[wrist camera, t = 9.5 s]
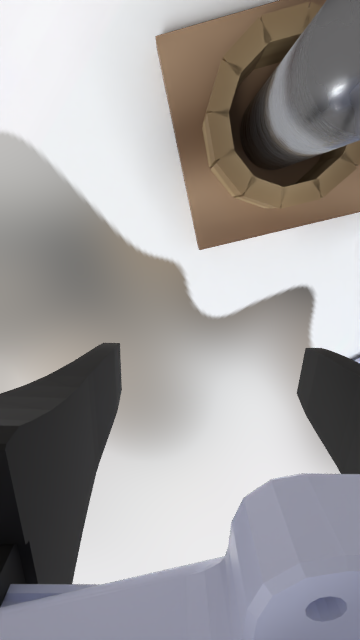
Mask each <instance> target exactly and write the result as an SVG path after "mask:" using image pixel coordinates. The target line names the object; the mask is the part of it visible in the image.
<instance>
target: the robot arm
mask: <svg viewBox="0 0 360 640" xmlns="http://www.w3.org/2000/svg"><path fill="white" fill-rule="evenodd" d="M121 390H122V388H121V363H120V343H103V344H101V345H99V346H97V347H95V348H94V349H92V350H91V351H89V352H88V353H86V354H84V355H83V356H81V357H79V358H78V359H76V360H75V361H73V362H71V363H70V364H68V365H66V366H64V367H62V368H60V369H59V370H57V371H55V372H53V373H51V374H49V375H47V376H45V377H43V378H41V379H38V380H36V381H34V382H31V383H29V384H27V385H24V386H21V387H19V388H16V389H13V390H10V391H7V392H4V393H1V394H0V640H360V358H358V359H356V360H352V359H349V358H347V357H345V356H342V355H340V354H337V353H335V352H332V351H329V350H326V349H323V348H306V350H305V354H304V360H303V365H302V370H301V375H300V380H299V385H298V390H297V394H298V397H299V400H300V402H301V405H302V407H303V409H304V412H305V414H306V416H307V418H308V419H309V421H310V423H311V424H312V426H313V428H314V429H315V431H316V433H317V434H318V436H319V438H320V439H321V441H322V443H323V444H324V446H325V447H326V449H327V451H328V452H329V454H330V456H331V457H332V459H333V461H334V462H335V464H336V465H337V467H338V469H339V471H340V473H341V474H303V473H302V474H297V475H291V476H286V477H280V478H275V479H271V480H269V481H268V482H266V483H265V484H263V485H262V486H260V487H259V488H257V489H256V490H254V491H253V492H251V493H250V494H248V495H247V496H246V497H244V498H243V500H242V502H241V504H240V506H239V508H238V510H237V512H236V514H235V516H234V518H233V520H232V523H231V530H230V538H229V546H228V549H227V552H226V555H225V556H224V557H220V558H215V559H211V560H206V561H202V562H198V563H194V564H189V565H185V566H181V567H176V568H172V569H167V570H163V571H158V572H154V573H150V574H145V575H141V576H137V577H132V578H128V579H123V580H120V581H115V582H110V583H106V584H102V585H87V584H86V585H83V584H81V585H80V584H79V585H78V584H72V582H73V576H74V571H75V566H76V562H77V557H78V552H79V547H80V541H81V537H82V532H83V528H84V523H85V519H86V514H87V510H88V505H89V501H90V496H91V492H92V488H93V484H94V479H95V476H96V472H97V469H98V465H99V462H100V459H101V456H102V453H103V450H104V448H105V445H106V442H107V439H108V436H109V434H110V431H111V428H112V425H113V422H114V419H115V416H116V413H117V410H118V405H119V400H120V395H121Z"/></svg>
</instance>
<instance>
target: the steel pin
mask: <svg viewBox="0 0 360 640" xmlns="http://www.w3.org/2000/svg"><path fill="white" fill-rule="evenodd" d="M240 139H241V144H242V147H243V150H244V152H245V154H246V156H247V157H248V158H249V160H250V161H251V162H253V163H254V164H255V165H257V166H258V167H260V168H263V169H268V170H276V169H281V168H284V167H287V166H290V165H292V164H295V163H298V162H301V161H304V160H306V159H309V158H312V157H315V156H318V155H320V154H323V153H326V152H329V151H331V150H334V149H337V148H340V147H343V146H345V145H348V144H351V143H354V142H357V141H359V140H360V0H326V2H325V3H324V4H323V6H322V7H321V8H320V10H319V11H318V13H317V14H316V15H315V17H314V18H313V19H312V21H311V22H310V23H309V25H308V26H307V27H306V29H305V30H304V31H303V33H302V34H301V35H300V37H299V38H298V39H297V41H296V42H295V43H294V45H293V46H292V47H291V49H290V50H289V51H288V53H287V54H286V56H285V57H284V58H283V60H282V61H281V62H280V64H279V65H278V66H277V68H276V69H275V70H274V72H273V73H272V74H271V76H270V77H269V78H268V80H267V81H266V82H265V84H264V85H263V86H262V88H261V89H260V90H259V92H258V93H257V95H256V96H255V97H254V99H253V100H252V101H251V103H250V104H249V105H248V107H247V109H246V110H245V113H244V115H243V118H242V121H241V127H240Z"/></svg>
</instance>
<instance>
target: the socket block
mask: <svg viewBox="0 0 360 640" xmlns="http://www.w3.org/2000/svg"><path fill="white" fill-rule="evenodd" d="M325 2H326V0H279V1H276V2H272V3H269V4H265V5H262V6H258V7H255V8H251V9H248V10H244V11H241V12H238V13H234V14H231V15H227V16H224V17H220V18H217V19H213V20H210V21H206V22H203V23H199V24H196V25H193V26H189V27H186V28H182V29H179V30H175V31H172V32H168V33H165V34H161V35H158V36H156V45H157V51H158V56H159V61H160V65H161V70H162V75H163V80H164V85H165V90H166V94H167V99H168V104H169V109H170V114H171V118H172V123H173V128H174V133H175V138H176V143H177V147H178V152H179V157H180V162H181V167H182V172H183V176H184V181H185V186H186V191H187V196H188V200H189V205H190V210H191V215H192V220H193V225H194V229H195V234H196V239H197V244H198V248H199V250H202V249H206V248H210V247H215V246H219V245H223V244H227V243H231V242H236V241H240V240H244V239H248V238H252V237H257V236H261V235H265V234H269V233H273V232H278V231H282V230H286V229H290V228H294V227H299V226H303V225H307V224H311V223H315V222H320V221H324V220H328V219H332V218H337V217H341V216H345V215H349V214H353V213H358V212H360V140H359V141H357V142H354V143H351V144H348V145H345V146H343V147H340V148H337V149H334V150H331V151H329V152H326V153H323V154H320V155H318V156H315V157H312V158H309V159H306V160H304V161H301V162H298V163H295V164H292V165H290V166H287V167H284V168H281V169H276V170H268V169H263V168H260V167H258V166H257V165H255V164H254V163H253V162H251V161H250V160H249V158H248V157H247V156H246V154H245V152H244V150H243V147H242V144H241V139H240V127H241V121H242V118H243V115H244V113H245V110H246V109H247V107H248V105H249V104H250V103H251V101H252V100H253V99H254V97H255V96H256V95H257V93H258V92H259V90H260V89H261V88H262V86H263V85H264V84H265V82H266V81H267V80H268V78H269V77H270V76H271V74H272V73H273V72H274V70H275V69H276V68H277V66H278V65H279V64H280V62H281V61H282V60H283V58H284V57H285V56H286V54H287V53H288V51H289V50H290V49H291V47H292V46H293V45H294V43H295V42H296V41H297V39H298V38H299V37H300V35H301V34H302V33H303V31H304V30H305V29H306V27H307V26H308V25H309V23H310V22H311V21H312V19H313V18H314V17H315V15H316V14H317V13H318V11H319V10H320V8H321V7H322V6H323V4H324V3H325Z"/></svg>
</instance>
